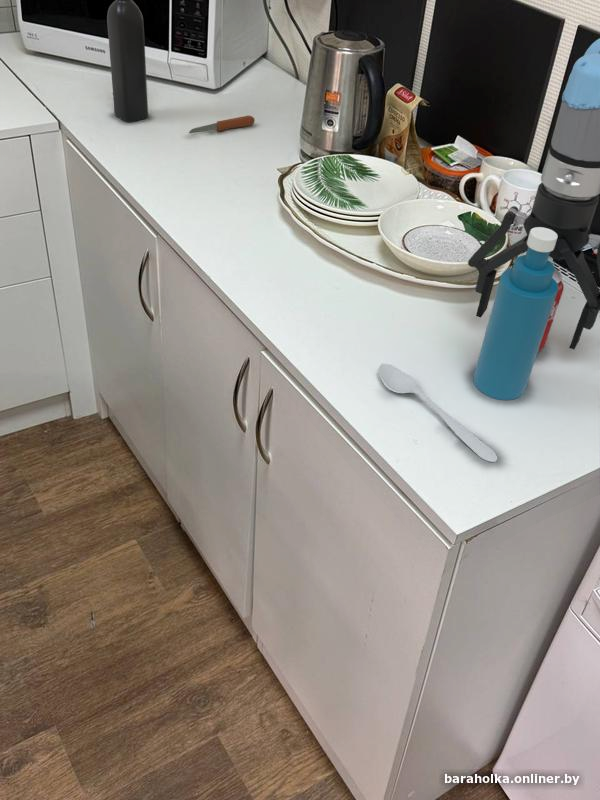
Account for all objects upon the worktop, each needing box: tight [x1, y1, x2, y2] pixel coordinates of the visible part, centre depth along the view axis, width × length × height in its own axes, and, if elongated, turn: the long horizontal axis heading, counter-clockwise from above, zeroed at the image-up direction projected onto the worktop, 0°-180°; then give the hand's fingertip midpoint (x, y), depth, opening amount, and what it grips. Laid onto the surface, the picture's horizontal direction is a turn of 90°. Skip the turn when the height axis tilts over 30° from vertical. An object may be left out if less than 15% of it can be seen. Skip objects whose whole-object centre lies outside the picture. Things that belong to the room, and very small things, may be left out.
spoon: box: [378, 363, 498, 463], centre depth 102 cm, size 4×21×2 cm, turn 38°
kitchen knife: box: [188, 115, 256, 134], centre depth 167 cm, size 16×1×2 cm, turn 126°
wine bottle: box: [106, 0, 149, 123], centre depth 160 cm, size 6×6×30 cm
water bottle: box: [472, 227, 558, 401], centre depth 101 cm, size 7×7×23 cm
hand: (526, 328), depth 114 cm, fingers open, 13 cm apart
